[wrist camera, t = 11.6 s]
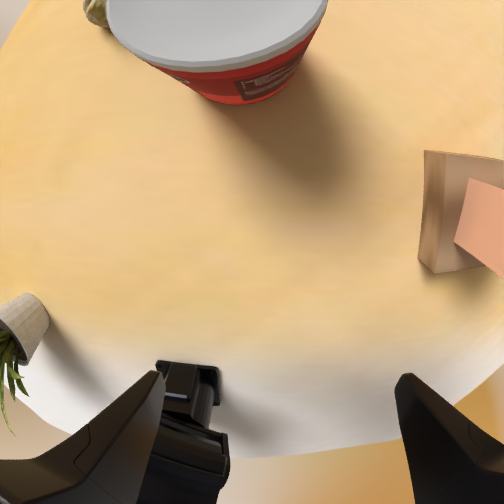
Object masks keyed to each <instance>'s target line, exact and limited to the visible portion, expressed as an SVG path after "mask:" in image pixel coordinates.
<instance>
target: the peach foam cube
mask: <svg viewBox="0 0 504 504" xmlns="http://www.w3.org/2000/svg"><path fill="white" fill-rule="evenodd" d="M453 242H455V243H456V244H458V245H459V246H460V247H462V248H463V249H465V250H466V251H467V252H469V253H470V254H471V255H473V256H474V257H475V258H477V259H478V260H479V261H481V262H482V263H483V264H485V265H486V266H487V267H489V268H490V269H491V270H492V271H494V272H495V273H496V274H497V275H498V276H500V277H501V278H504V190H503V189H501V188H498V187H495V186H492V185H490V184H487V183H484V182H481V181H478V180H475V179H472V178H469V180H468V185H467V190H466V195H465V200H464V204H463V208H462V212H461V216H460V220H459V224H458V228H457V231H456V235H455V238H454V241H453Z"/></svg>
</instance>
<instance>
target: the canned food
mask: <svg viewBox="0 0 504 504" xmlns="http://www.w3.org/2000/svg"><path fill="white" fill-rule="evenodd" d="M327 3H328V0H107V3H106V12H107V20H108V23H109V26H110V29H111V31H112V33H113V34H114V35H115V37H116V38H117V40H118V41H119V42H120V43H121V44H122V45H123V46H125V48H127V49H128V50H129V51H130V52H132V53H133V54H134V55H135V56H137V57H138V58H140V59H142V60H143V61H145V62H147V63H148V64H149V65H151V66H153V67H155V68H157V69H159V70H160V71H162V72H164V73H166V74H167V75H169V76H171V77H173V78H174V79H176V80H178V81H180V82H181V83H183V84H185V85H186V86H188V87H190V88H191V89H193V90H194V91H196V92H198V93H199V94H201V95H203V96H204V97H206V98H208V99H211V100H214V101H216V102H220V103H226V104H249V103H255V102H258V101H261V100H264V99H267V98H268V97H270V96H272V95H274V94H276V93H277V92H279V91H280V90H281V89H282V88H284V87H285V85H286V84H287V83H288V82H289V81H290V80H291V78H292V76H293V74H294V72H295V70H296V69H297V67H298V65H299V63H300V61H301V59H302V57H303V55H304V53H305V51H306V49H307V47H308V45H309V43H310V41H311V40H312V38H313V36H314V34H315V32H316V30H317V28H318V26H319V25H320V22H321V19H322V18H323V16H324V14H325V11H326V7H327Z"/></svg>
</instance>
